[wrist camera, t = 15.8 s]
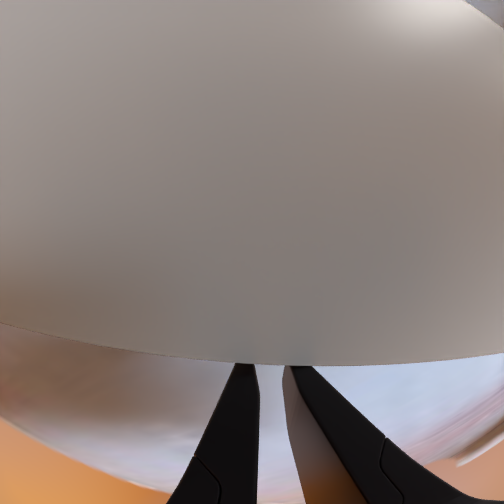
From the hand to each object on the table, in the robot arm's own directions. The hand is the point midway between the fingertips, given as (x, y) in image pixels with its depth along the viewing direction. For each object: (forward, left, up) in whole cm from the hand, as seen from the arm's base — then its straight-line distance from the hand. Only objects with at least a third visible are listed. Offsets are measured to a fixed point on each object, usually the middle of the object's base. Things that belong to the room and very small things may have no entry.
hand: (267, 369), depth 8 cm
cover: (-2, -5, -1) cm, 6 cm away
